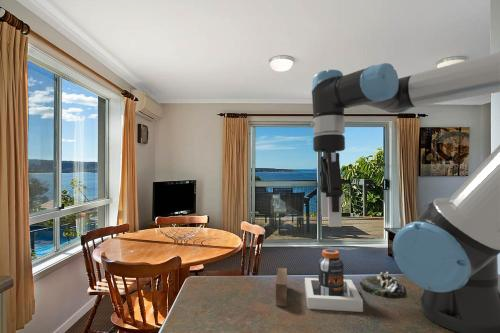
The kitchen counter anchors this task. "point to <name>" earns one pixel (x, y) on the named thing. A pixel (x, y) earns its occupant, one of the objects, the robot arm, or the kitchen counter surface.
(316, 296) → the plate
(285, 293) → the door edge
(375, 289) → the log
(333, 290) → the pill bottle
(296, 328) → the kitchen counter surface
